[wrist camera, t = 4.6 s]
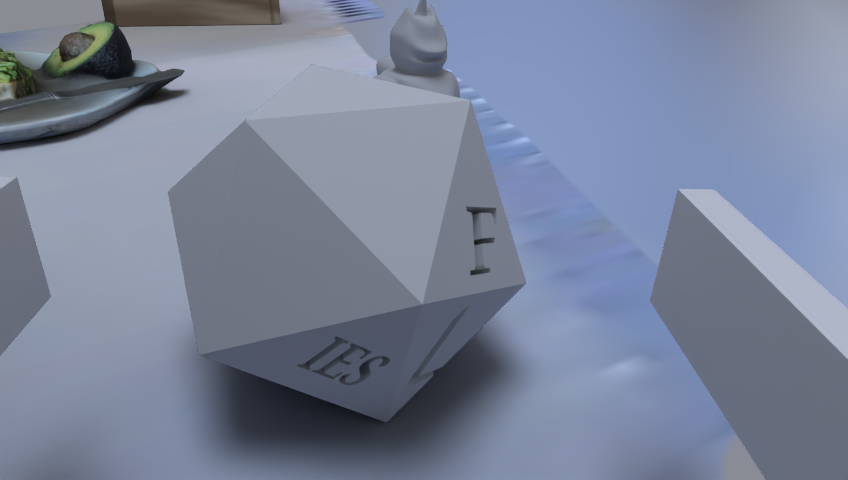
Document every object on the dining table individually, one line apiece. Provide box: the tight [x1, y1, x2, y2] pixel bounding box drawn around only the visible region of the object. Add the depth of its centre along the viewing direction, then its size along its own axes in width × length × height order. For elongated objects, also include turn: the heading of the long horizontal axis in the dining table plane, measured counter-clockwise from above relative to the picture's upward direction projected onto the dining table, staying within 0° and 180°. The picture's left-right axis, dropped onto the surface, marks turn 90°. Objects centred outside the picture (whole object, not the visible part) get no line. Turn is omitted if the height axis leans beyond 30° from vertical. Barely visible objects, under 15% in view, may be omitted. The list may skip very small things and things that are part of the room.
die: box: [168, 64, 526, 423], centre depth 17 cm, size 8×9×10 cm
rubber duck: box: [374, 0, 460, 98], centre depth 36 cm, size 5×7×8 cm
